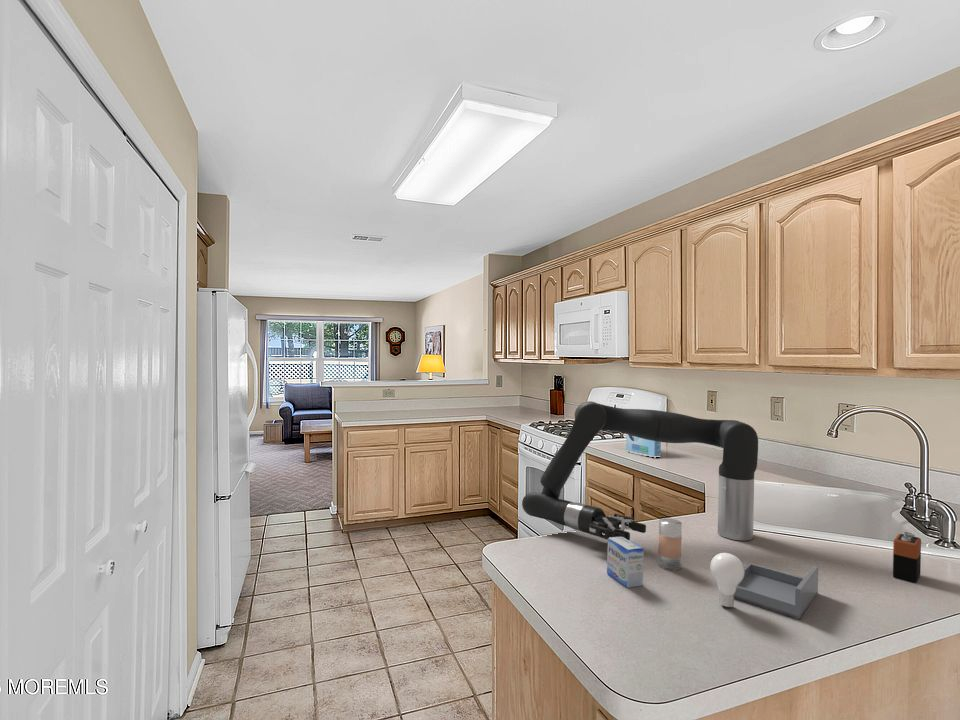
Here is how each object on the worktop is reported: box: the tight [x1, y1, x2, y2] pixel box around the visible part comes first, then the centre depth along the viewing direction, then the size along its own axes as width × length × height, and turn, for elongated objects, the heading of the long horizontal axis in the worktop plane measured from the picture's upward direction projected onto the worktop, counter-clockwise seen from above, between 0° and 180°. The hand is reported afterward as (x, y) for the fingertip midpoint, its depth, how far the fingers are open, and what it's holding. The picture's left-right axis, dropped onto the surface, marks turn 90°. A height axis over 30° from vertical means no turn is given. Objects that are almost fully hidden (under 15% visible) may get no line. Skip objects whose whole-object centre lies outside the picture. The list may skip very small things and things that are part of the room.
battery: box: [892, 531, 922, 584], centre depth 119 cm, size 4×7×10 cm, turn 132°
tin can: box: [657, 517, 683, 571], centre depth 123 cm, size 5×5×11 cm
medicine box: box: [606, 537, 645, 589], centre depth 115 cm, size 8×4×9 cm, turn 21°
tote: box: [734, 562, 819, 621], centre depth 109 cm, size 16×14×6 cm
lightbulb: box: [709, 552, 745, 608], centre depth 103 cm, size 6×6×11 cm
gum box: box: [625, 434, 662, 456], centre depth 263 cm, size 20×5×23 cm, turn 30°
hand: (637, 532), depth 129 cm, fingers open, 8 cm apart
